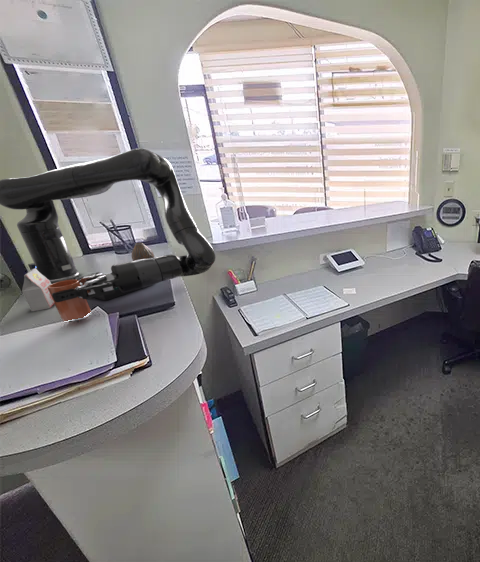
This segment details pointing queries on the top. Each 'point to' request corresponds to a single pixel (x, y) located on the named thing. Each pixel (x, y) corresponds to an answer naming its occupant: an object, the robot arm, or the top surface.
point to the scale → (113, 294)
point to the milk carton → (37, 291)
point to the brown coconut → (141, 252)
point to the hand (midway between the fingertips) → (52, 294)
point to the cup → (69, 301)
